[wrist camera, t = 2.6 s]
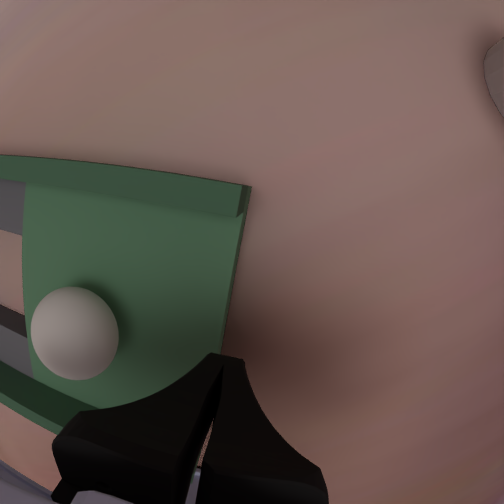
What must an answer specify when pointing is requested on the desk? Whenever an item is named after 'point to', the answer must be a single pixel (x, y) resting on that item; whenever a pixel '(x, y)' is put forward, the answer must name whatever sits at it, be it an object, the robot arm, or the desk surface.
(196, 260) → the putting green
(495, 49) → the grey cup
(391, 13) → the desk surface
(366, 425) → the desk surface
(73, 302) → the golf ball
